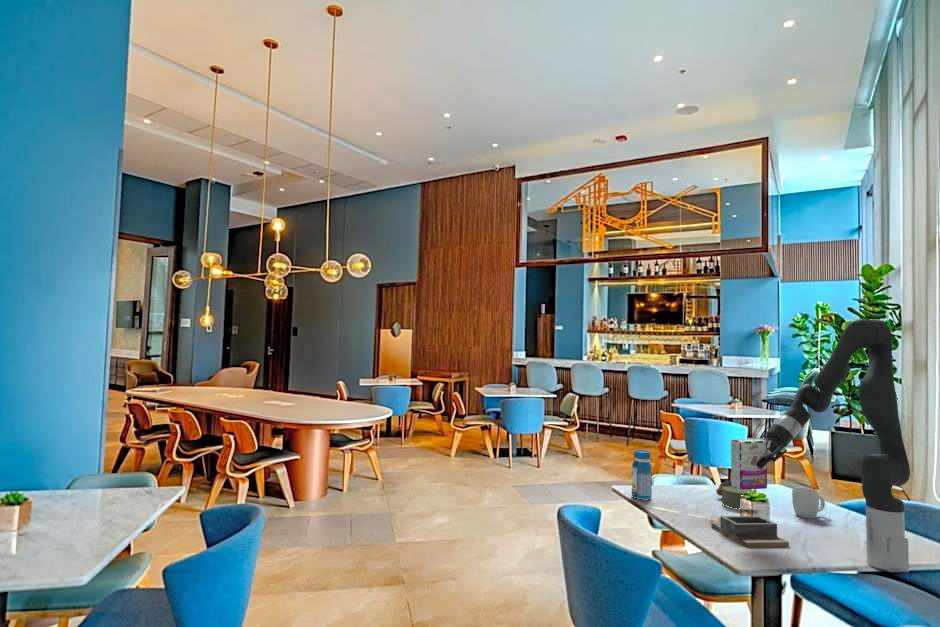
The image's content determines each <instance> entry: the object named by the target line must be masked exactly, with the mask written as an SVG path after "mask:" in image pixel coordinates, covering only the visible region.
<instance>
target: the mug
mask: <svg viewBox="0 0 940 627" xmlns="http://www.w3.org/2000/svg"><path fill="white" fill-rule="evenodd" d="M791 498H792V507H793V511H794V513H795V515H796V516H798V517H800V518H805V519H816V517H817V516H818V513H820V512H822V511H823V510H824V508H825V506H826V503H825V502H826V501H825V499H824V497H823V496H822V495H820V492H819V491H817V490H814V489H811V488H807V487H806V488H805V487H793V488H791Z"/></svg>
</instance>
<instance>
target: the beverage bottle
mask: <svg viewBox="0 0 940 627" xmlns="http://www.w3.org/2000/svg"><path fill="white" fill-rule="evenodd" d="M633 458H634V461H633V462H632V465H631V467H632V470H631V497H632V496H633V497H634V498H637V499H636V500H638V499H642V500H641V501H649V500H648V499H650V500H652V498H653V496H652V488H653V487H652V486H653V484H652V482H653V478H652V477H653V472H652V469H653V466H652V464H651V462H650V461H649V460H651V452H650V451H649V450H644V449H635V450H634V452H633ZM633 497H632V498H633ZM634 498H633V499H634Z"/></svg>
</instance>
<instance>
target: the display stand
mask: <svg viewBox="0 0 940 627" xmlns="http://www.w3.org/2000/svg"><path fill="white" fill-rule="evenodd" d="M710 524H711V526H710V527H711V528H712V529H714V530H715V531H717V532H719V533H721V534H723V535H725V536H726V537H728V538H730V539H732V540H734V541H735V542H737V543H739V544H741V545H742V546H744V547H746V548H786V547H787V548H788V547H790V541H788V540H786V539H784V538H781V537H780V536H778V524H777V523H775V522H774V521H772V520H769V519H768V518H765V517H764V516H763V517H762V516H760V515H746V516H745V515H731V516H730V515H729V516H728V515H721V516H720V522H711V523H710Z"/></svg>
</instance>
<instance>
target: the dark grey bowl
mask: <svg viewBox="0 0 940 627" xmlns="http://www.w3.org/2000/svg"><path fill="white" fill-rule="evenodd" d="M721 489H722V496H721V501H722V502H721V504H722V503H723V504H724V505H727V506H729V507H732V508H737V509H739V508H740V499H741V495H743V494H745V493H746V492H748V491H753V489H748V490H740V489H737V488H734V487H732V486H723V487H722V488H721ZM732 508H731V509H732ZM737 509H736V510H737Z"/></svg>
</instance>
